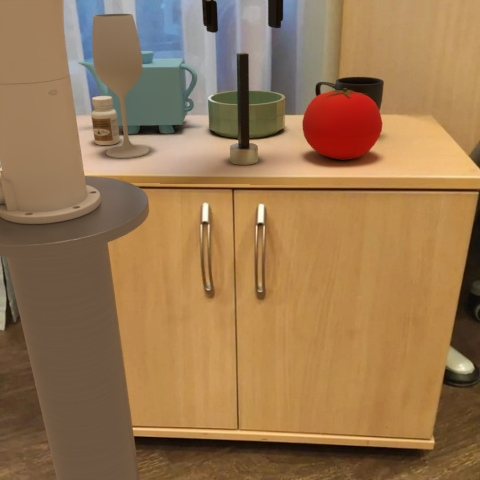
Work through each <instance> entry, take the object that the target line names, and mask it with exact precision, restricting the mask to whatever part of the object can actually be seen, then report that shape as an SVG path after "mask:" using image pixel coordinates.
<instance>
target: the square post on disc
mask: <svg viewBox="0 0 480 480" xmlns="http://www.w3.org/2000/svg"><path fill="white" fill-rule="evenodd" d="M249 56H250V55H249V53H247V52H238V53H236V91H237V106H238V138H237V142H236V143H233V144H230V146H229V161H230V163H231V164H234V165H237V166H249V165H250V166H251V165H253V164H256V163H258V161H259V146H258V145H257V144H256V143H252V142H250V138H249V90H250V61H249V59H250V57H249Z"/></svg>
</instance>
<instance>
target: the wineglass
mask: <svg viewBox="0 0 480 480" xmlns="http://www.w3.org/2000/svg"><path fill="white" fill-rule="evenodd" d="M91 33H92V34H91V36H92V39H91V41H92V42H91V43H92V44H91V45H92V47H91V48H92V49H91V50H92V63H94V68H95V72H96V74H97V75H98V77H99V79H100V80H101V81H102V82H103V83H104V84H105V85H106V86H107V87H108V88H109V89H110V90H112V91H113V92H114V93H116V94H117V96H118V97H119V100H120V105H121V114H122V123H123V126H122V131H123V142H122V143H121V145H119V146H114V147H111V148H109V149H107V150H106V152H105V154H106V156H107V157H110V158H113V159H114V158H115V159H133V158H139V157H143V156H145V155H147V154H149V153H150V148H148V147H147V146H144V145H137V144H135V145H134V144H132V142H131V141H130V136H129V134H128V129H127V119H126V110H125V97H126V94H127V93H128V92H129V91H130V90H131V89H132V87H133V86H134V85H135V84H136V83H137V81H138V79H139V78H140V76H141V72H142V53H141V51H142V48H141V43H140V39H139V34H138V29H137V25H136V22H135V19H134V14H132V13H103V14H101V13H100V14H94V15H93V16H92V32H91Z"/></svg>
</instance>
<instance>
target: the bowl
mask: <svg viewBox="0 0 480 480" xmlns="http://www.w3.org/2000/svg"><path fill="white" fill-rule="evenodd" d="M207 109H208V129H209V130H211V131H212V132H214V133H215V134H217V135H219V136H222V137H227V138H233V139H238V106H237V90H228V91H222V92H217V93H214V94H211V95H209V96H208V97H207ZM285 126H286V96H285V95H284V94H282V93H280V92H275V91H272V90H271V91H269V90H258V89H256V90H255V89H249V139H258V138H264V137H269V136H273V135H275V134H277V133H278V132H279V131H280V130H283V129H284V128H285Z"/></svg>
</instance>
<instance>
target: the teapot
mask: <svg viewBox="0 0 480 480" xmlns="http://www.w3.org/2000/svg"><path fill="white" fill-rule="evenodd" d="M141 53H142V72H141V76H140V78H139V79H138V81H137V83H136V84H135V85H134V86H133V87H132V89H131V90H130V91H129V92H128V93H127V94H126V97H125V110H126V119H127V129H128V135H133V134H138V133H140V129H141V126H158V130H159V133H161V134H173V133H175V129H174V127H173V126H182V125H183V124H184V121H185V120H186V116H187V114H188V113H189V112H191V111H192V110H193V109H194V107H195V103H194V101H193V99H191V98H190V95H191V94H192V92H193V91H194V89H195V87H196V85H197V82H198V74H197V71H196V70H195V69H194V67H192V66H191V65H190V64H188V63H185V57H176V58H174V57H173V58H154V55H155V52H154V51H153V50H141ZM77 64H78V65H81V66H83V67H84V68H86V69H87V70H88V71H89V72H90V74H91V76H92V77H93V79H94V81H95V85H96V87H97V90H98V92H99V94H100V96H111V97H112V100H113V106H112V109H114V110H115V111H116V113H117V120H118V127H120V126H121V127H123V123H122V114H121V105H120V100H119V97H118V96H117V94H116V93H114V92H113V91H112V90H110V89H109V88H108V87H107V86H106V85H105V84H104V83H103V82H102V81H101V80H100V79H99V77H98V75H97V74H96V72H95V68H94V63H93V61H78V62H77ZM186 71H187V72H189V73H190V74H191V81H190V84H189V85H188V87H187V81H186ZM188 104H189V105H188Z"/></svg>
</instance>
